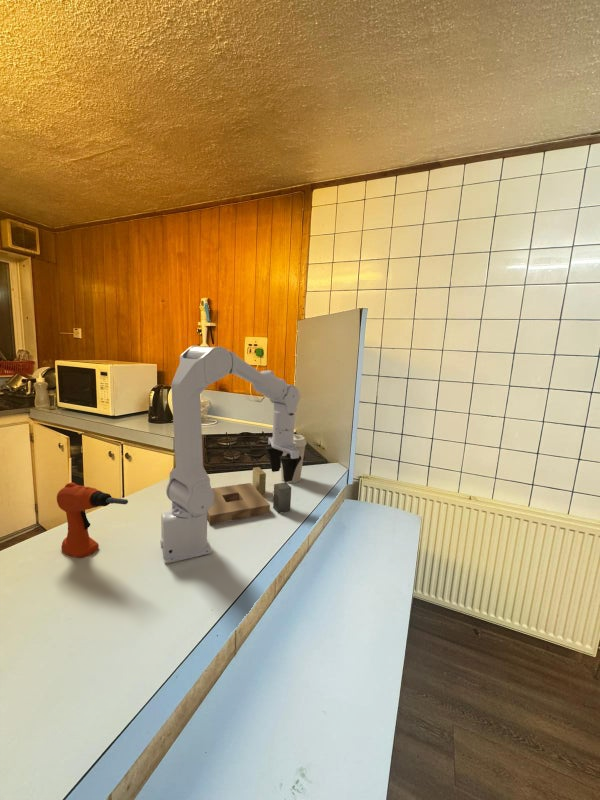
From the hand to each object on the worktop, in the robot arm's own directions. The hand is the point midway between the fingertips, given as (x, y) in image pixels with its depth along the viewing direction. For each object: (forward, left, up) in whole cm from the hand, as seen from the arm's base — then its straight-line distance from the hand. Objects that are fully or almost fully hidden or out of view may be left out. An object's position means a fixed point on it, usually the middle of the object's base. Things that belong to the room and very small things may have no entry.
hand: (281, 475), depth 92 cm
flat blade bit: (-2, +12, -10) cm, 16 cm away
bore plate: (-12, +6, -10) cm, 16 cm away
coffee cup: (+12, +18, -10) cm, 24 cm away
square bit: (0, -1, -10) cm, 10 cm away
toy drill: (-44, -5, -10) cm, 45 cm away
